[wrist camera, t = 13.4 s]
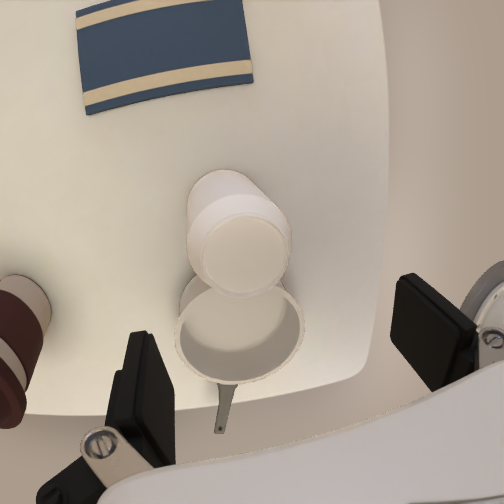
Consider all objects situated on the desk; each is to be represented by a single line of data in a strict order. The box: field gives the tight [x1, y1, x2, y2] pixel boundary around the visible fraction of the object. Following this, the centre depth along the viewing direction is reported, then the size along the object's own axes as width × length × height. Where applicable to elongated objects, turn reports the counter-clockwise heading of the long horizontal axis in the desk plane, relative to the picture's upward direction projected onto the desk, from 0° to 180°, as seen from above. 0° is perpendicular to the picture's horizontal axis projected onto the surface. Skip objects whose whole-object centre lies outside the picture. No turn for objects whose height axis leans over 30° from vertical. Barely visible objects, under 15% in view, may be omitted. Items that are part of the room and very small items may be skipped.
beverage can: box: [187, 170, 292, 298], centre depth 23 cm, size 6×6×12 cm
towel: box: [76, 0, 254, 115], centre depth 21 cm, size 14×10×1 cm
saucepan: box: [174, 275, 305, 434], centre depth 31 cm, size 12×20×6 cm, turn 169°
